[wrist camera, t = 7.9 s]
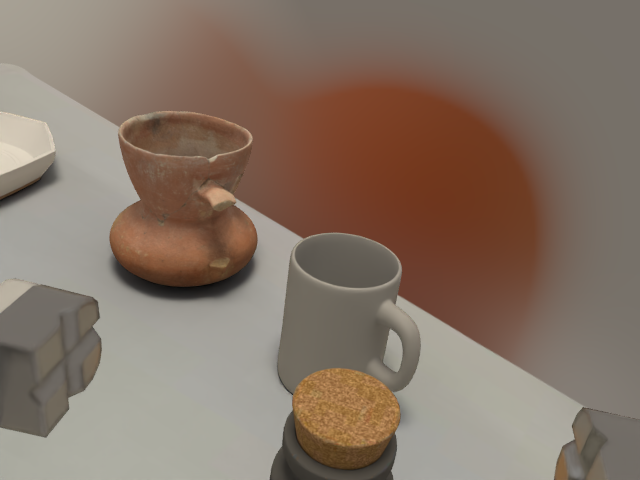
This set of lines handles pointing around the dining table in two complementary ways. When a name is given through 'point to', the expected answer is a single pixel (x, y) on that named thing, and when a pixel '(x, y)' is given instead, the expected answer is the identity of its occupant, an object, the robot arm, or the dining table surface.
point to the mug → (344, 311)
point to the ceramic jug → (183, 199)
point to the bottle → (339, 429)
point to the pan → (23, 152)
